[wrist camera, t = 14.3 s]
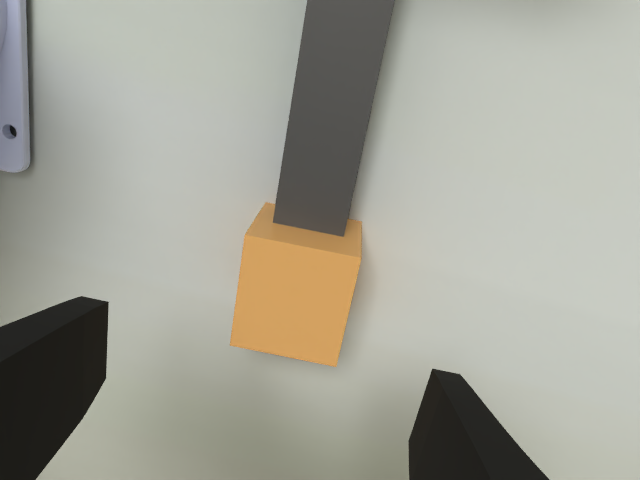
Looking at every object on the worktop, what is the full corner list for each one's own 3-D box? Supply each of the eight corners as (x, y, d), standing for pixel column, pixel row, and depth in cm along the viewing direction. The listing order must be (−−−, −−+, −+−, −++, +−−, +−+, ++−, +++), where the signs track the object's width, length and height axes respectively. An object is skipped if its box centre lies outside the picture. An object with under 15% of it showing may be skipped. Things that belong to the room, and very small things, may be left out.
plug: (340, 315, 20) (336, 367, 16) (251, 297, 20) (229, 345, 16) (432, -94, 15) (452, -136, 11) (313, -117, 15) (299, -165, 11)
